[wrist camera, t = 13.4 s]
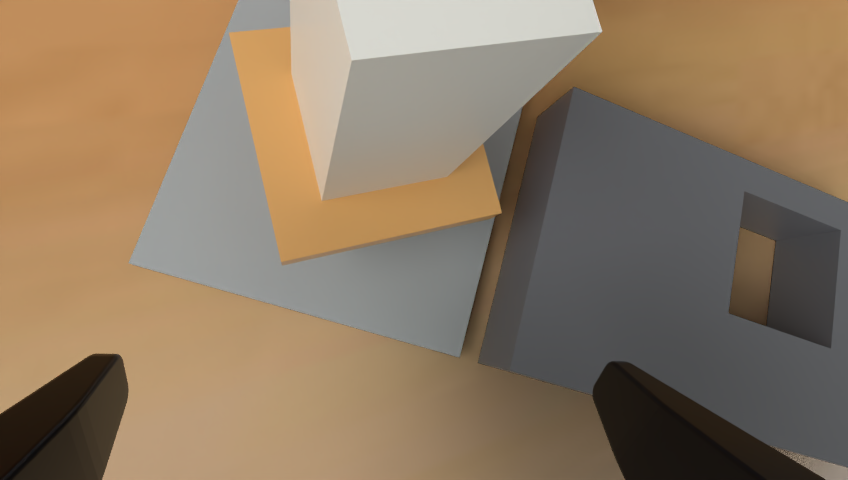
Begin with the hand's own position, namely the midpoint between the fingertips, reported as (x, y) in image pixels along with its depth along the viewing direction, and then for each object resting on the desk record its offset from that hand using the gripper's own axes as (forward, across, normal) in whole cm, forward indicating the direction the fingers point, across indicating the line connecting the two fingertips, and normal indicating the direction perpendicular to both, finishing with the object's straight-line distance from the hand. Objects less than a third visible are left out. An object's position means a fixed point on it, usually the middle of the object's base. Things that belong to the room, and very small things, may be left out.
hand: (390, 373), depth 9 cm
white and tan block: (+11, 0, -1) cm, 11 cm away
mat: (+12, 0, -2) cm, 12 cm away
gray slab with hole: (+9, +14, -5) cm, 17 cm away
